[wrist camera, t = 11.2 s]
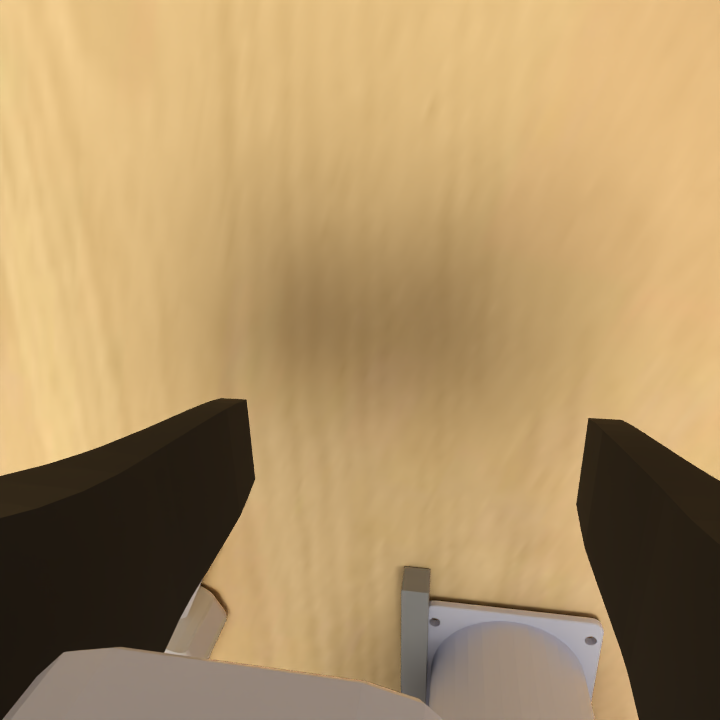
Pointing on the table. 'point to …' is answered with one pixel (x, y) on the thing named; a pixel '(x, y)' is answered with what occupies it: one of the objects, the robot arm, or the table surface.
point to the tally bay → (414, 631)
